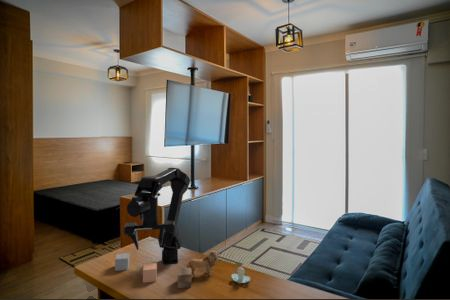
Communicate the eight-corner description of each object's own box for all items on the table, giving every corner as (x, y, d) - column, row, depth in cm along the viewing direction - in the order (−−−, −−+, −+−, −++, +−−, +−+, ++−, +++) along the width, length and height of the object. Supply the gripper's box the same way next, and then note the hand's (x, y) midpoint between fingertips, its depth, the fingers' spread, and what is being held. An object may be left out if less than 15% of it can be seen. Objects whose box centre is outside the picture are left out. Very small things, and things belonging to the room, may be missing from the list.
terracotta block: (156, 274, 110) (156, 262, 110) (156, 281, 105) (156, 269, 105) (144, 276, 109) (144, 263, 109) (142, 282, 104) (142, 270, 104)
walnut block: (190, 279, 107) (190, 267, 106) (191, 287, 102) (191, 274, 101) (177, 281, 106) (177, 268, 105) (177, 288, 101) (177, 275, 100)
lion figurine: (215, 268, 116) (216, 248, 115) (220, 274, 111) (220, 253, 110) (181, 274, 110) (181, 252, 110) (184, 281, 106) (184, 258, 105)
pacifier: (234, 276, 111) (230, 283, 105) (235, 260, 110) (230, 267, 105) (252, 279, 108) (248, 287, 103) (252, 264, 108) (249, 270, 102)
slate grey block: (129, 264, 118) (129, 253, 118) (127, 270, 113) (127, 258, 113) (117, 265, 117) (117, 254, 117) (115, 271, 112) (115, 259, 112)
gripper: (174, 203, 115) (174, 239, 116) (127, 204, 111) (128, 241, 112) (174, 210, 104) (174, 250, 105) (123, 212, 100) (123, 253, 101)
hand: (150, 248), depth 106 cm, fingers open, 9 cm apart
